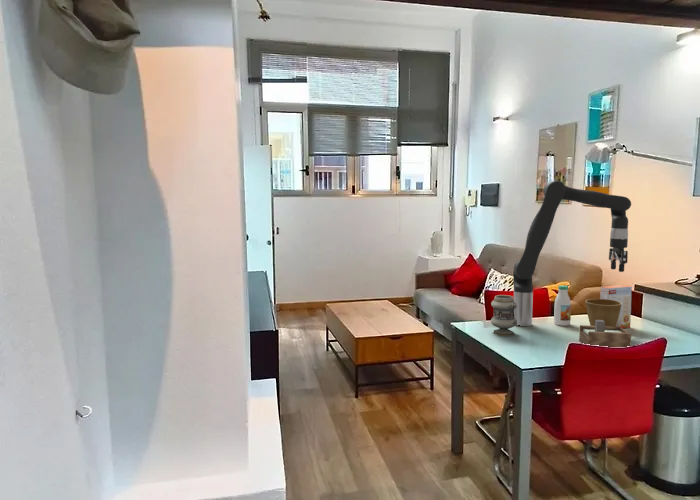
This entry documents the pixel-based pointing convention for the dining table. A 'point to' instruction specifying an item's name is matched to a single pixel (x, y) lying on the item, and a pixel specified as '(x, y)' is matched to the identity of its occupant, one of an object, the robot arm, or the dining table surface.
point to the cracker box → (621, 295)
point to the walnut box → (605, 337)
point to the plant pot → (603, 311)
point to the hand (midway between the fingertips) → (617, 270)
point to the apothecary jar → (504, 314)
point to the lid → (599, 327)
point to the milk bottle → (562, 307)
